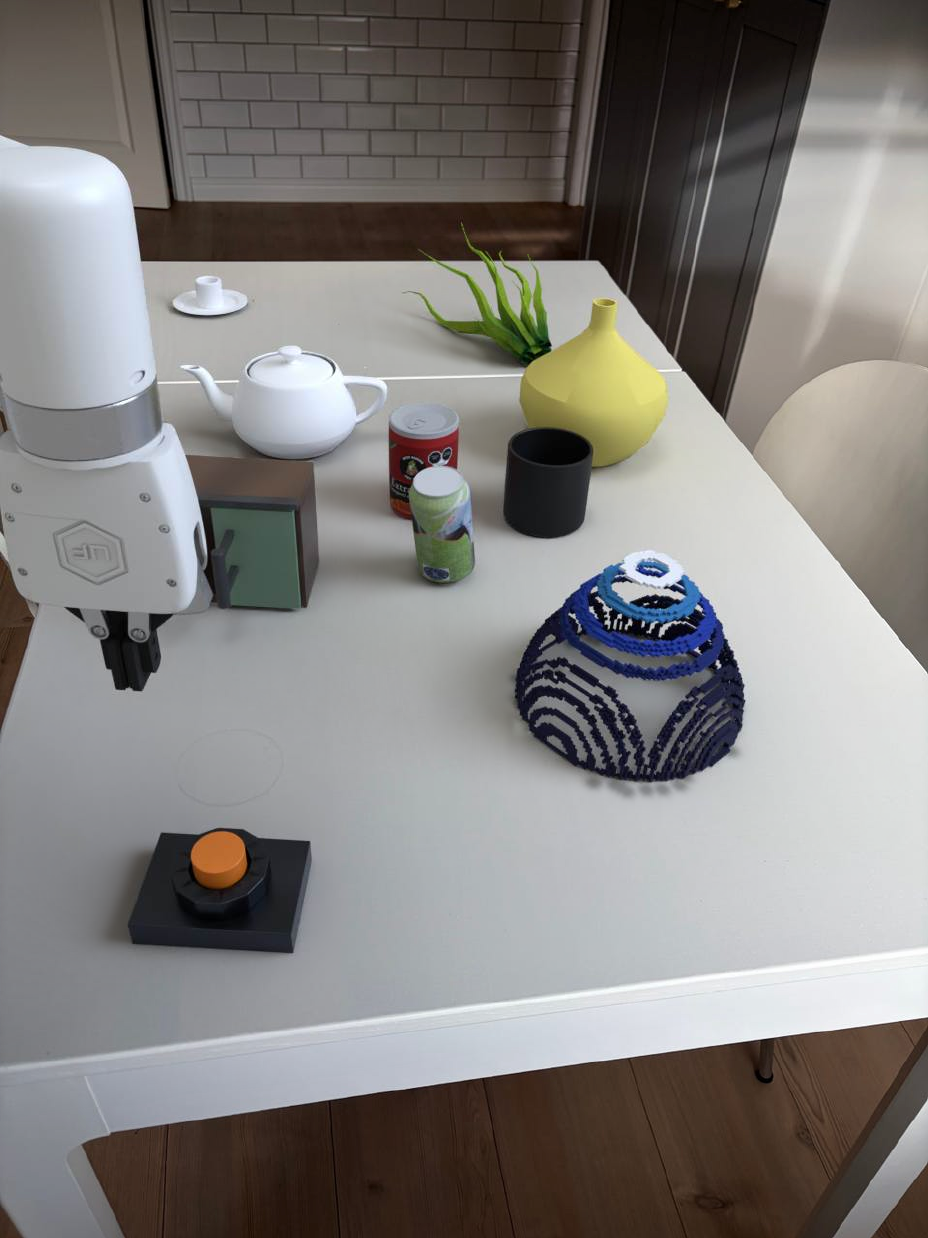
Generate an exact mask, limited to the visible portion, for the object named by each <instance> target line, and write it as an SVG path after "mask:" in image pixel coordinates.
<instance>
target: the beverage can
mask: <svg viewBox="0 0 928 1238" xmlns="http://www.w3.org/2000/svg"><path fill="white" fill-rule="evenodd" d="M471 500H472V499H471V489H470V486H469V484H468V482H467V481H466V479H465V478H464V477H463V474H462V472H460V471H459V470H458V469H457V470H456V469H454V468H452V467H448V466H434V467H429V468H426V469H424V470H422V471H421V472H419V473H418V474H417V475H416V476H415V478H414V480H413V484H412V486H411V488H410V490H409V501H410V509H411V517H412V519H411V524H412V532H413V539H414V548H415V555H416V563H417V569H418V571H419V573H420V574H421V575H422V576H423V577H424V578H426V580H429V581H432V582H436V583H442V584H447V583H448V584H449V583H454V582H457V581H460V580H462V579H464V578H466V577H467V576H468V575H469V574H471V572H472V571H473V570H474V568H475V566H476V557H475V541H474V527H473V526H474V525H473V513H472V512H473V511H472V501H471Z"/></svg>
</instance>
